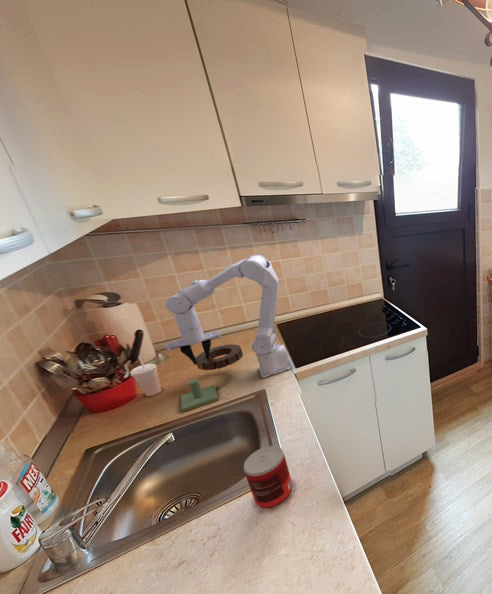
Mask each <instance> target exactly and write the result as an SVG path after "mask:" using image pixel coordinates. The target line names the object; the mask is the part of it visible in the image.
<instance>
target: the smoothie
mask: <svg viewBox="0 0 492 594" xmlns="http://www.w3.org/2000/svg"><path fill="white" fill-rule="evenodd" d="M138 361H139V362H140V364H141V365H139V366H136V367H135V368H133V369H132V370H131V371H130V372H129V373H130V377H132V378H134V380H135V381H136V383H137V384H138V385H139V387H140V388H141V390H142V391H143V392H144V394H145V396H146V397H152V396H155V395H157V394H160V392H161V391H162V389H161V384H160V379H159V374H158V371H157V369H158V366H157V364H155V363H146V364H145V363H144V361H143V359H142V357H141V356H139V357H138Z"/></svg>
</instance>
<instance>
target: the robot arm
mask: <svg viewBox="0 0 492 594" xmlns="http://www.w3.org/2000/svg"><path fill="white" fill-rule="evenodd" d="M244 277H245V278H247V279H249V280H251V281H253V282H255V283H257V284H259V286H261V287H262V288H261V297H260V308H259V317H258V324H257V325H258V327H257V331H256V334H255V339H254V341H253V342H252V344H251V350H252V351H253V352H254V353H255V356H256V359H257V362H258V365H259V367H258V371H259V373H260V374H259V375H260V376H261V378H267V377H270V376H273V375H276V374H279V373H282V372H284V371H288V370H290V369H291V365H290V360H289V356H288V353H287V350H286V346H285V345H284V344H278V343H277V342H276V340H277V338H278V334H277V332H276V326H275V320H276V312H277V304H278V296H279V288H280V279H279V277H278V276H277V273H276V272H275V270H274V268H273V265H272V262H271V261H269V260H268V259H267V258H266V257H265V256H263V255H261V254H252V255H250V256H249V257H248V258H244V259H241V260H239V261H236V262H235V263H233V264H231V265H230V266H228V267H227V268H225V269H223V270H222V271H221V272H219V273H217V274H216V275H214V276H213V277H211V278H210V279H208V280H207V279H199V280H196V279H195V280H194V281H192V282H191V283H190V284H191V285H189V286H187V287H186V288H184V289H183V288H181V289H179V290H178V291H177V292H176V293H175V294H173V296H171V297H169V298H168V299H167V300H166V302H165V308H166V309H167V310H168V311H169V312H170V313H172V315H173V317H174V321H175V323H176V326H177V329H178V331H179V334H180V337H181V339H179V340H176V341H172V342H169V343H166V344H165V348H166V351H167V352H171V351H173V350H177V349H180V352H181V353H182V354H183V355H184V356H186V357H188V359H190V361H191V362H192V363H193V365H194V366H197V364H196V359H195V358H196V355H195V354H194V352H193V348H192V346H193V345H197V344H200V343H201V346H202V349H203V352H205V355H206V358H207V359H209V351H210V349H211V346H212V341H213V340H220V339H222V338H223V337H222V335H221V331H215V332H209V333H208V332H207V333H204V331H203V328H202V325H201V322H200V319H199V316H198V313H197V311H196V308H195V305H197V304H199V303H200V302H202V301H204V300H205V299H207V298H209V297H211V296H212V295H214V294H215V292H216V288H218V287H219V286H221V285H224V284H225V283H226V282H229V281H230V280H232V279H234V278H240V279H242V278H244Z"/></svg>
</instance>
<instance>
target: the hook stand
mask: <svg viewBox="0 0 492 594" xmlns="http://www.w3.org/2000/svg"><path fill="white" fill-rule="evenodd" d="M188 386H189V388H190V391H191V392H188V393H185V394H182V395H180V402H181V403H180V411H181V412H182V413H183V412H187V411H189V410H193V409H196V408H200V407H202V406H205V405H208V404H210V403H214V402H216V401H218V394H217V388H216V385H215V384H212V385H210V386H207V387H203V388H202V387H201V384H200V381H199V379H197V378H194V379H191V380H189V381H188Z"/></svg>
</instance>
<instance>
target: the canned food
mask: <svg viewBox="0 0 492 594" xmlns="http://www.w3.org/2000/svg"><path fill="white" fill-rule="evenodd" d="M243 463H244V464H243V471H244V474H245V477H246V480H247V484H248V486H249V489H250V492H251V495H252V498H253V500H254V503H255V505H257V507H259V508H261V509H263V510H264V509H265V510H267V509H273V508H276V507H277V506H280V505H281V504H282V503H284V502H285V501H286V500H287V499H288V498H289V497H290V495H291V493H292V490H293V481H292V477H291V474H290V470H289V466H288V463H287V459H286V455H285V453H284V451H283V449H282V448H281V446H278V445H268V446H264V447H262V448H259V449H257V450H256V451H254V452H253V453H251V454H250V455H249V456H248V457H247V458H246V459H245V461H244V462H243Z"/></svg>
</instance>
